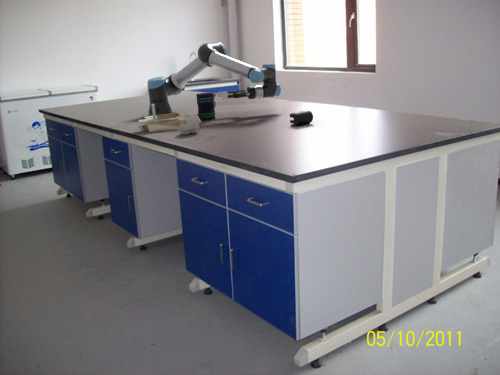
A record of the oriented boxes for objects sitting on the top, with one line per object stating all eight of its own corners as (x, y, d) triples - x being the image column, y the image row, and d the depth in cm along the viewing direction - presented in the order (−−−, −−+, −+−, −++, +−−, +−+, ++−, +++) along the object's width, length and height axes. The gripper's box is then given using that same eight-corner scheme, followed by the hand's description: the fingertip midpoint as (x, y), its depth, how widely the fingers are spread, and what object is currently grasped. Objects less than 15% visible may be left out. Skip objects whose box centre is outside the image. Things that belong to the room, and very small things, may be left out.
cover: (138, 121, 276) (136, 105, 273) (155, 119, 278) (153, 103, 275) (139, 123, 267) (137, 107, 265) (156, 121, 270) (154, 105, 267)
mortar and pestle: (205, 114, 317) (203, 95, 314) (198, 113, 325) (196, 94, 321) (221, 112, 323) (219, 92, 320) (213, 110, 330) (211, 92, 327)
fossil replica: (174, 135, 255) (190, 138, 250) (172, 119, 252) (188, 122, 247) (189, 129, 264) (204, 131, 259) (187, 113, 261) (203, 115, 256)
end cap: (298, 127, 253) (298, 113, 251) (289, 126, 259) (288, 112, 257) (313, 124, 259) (313, 110, 257) (304, 123, 264) (303, 109, 262)
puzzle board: (145, 124, 296) (144, 115, 294) (186, 119, 301) (185, 110, 300) (149, 132, 268) (148, 122, 266) (194, 127, 274) (193, 117, 272)
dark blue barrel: (195, 121, 295) (193, 95, 290) (203, 118, 303) (200, 92, 299) (211, 121, 291) (208, 94, 287) (218, 118, 300) (216, 92, 295)
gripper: (260, 100, 289) (224, 104, 284) (249, 96, 313) (215, 100, 308) (259, 87, 287) (223, 91, 282) (248, 84, 310) (214, 87, 306)
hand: (219, 95), depth 295 cm, fingers open, 13 cm apart
